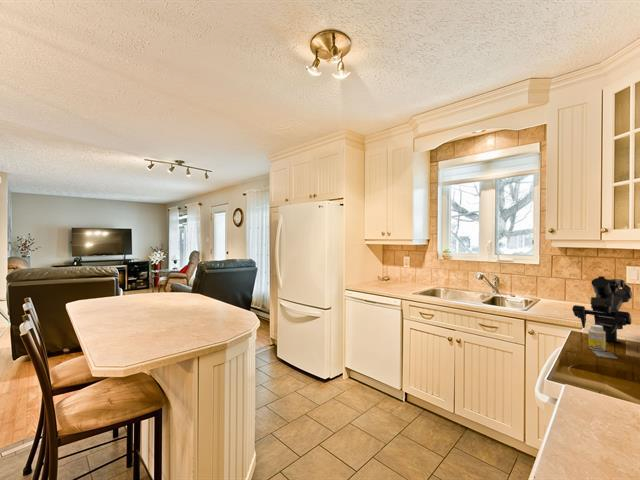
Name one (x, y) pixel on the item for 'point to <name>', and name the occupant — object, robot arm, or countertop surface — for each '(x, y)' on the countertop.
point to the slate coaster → (604, 354)
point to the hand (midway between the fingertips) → (597, 330)
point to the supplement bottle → (597, 338)
